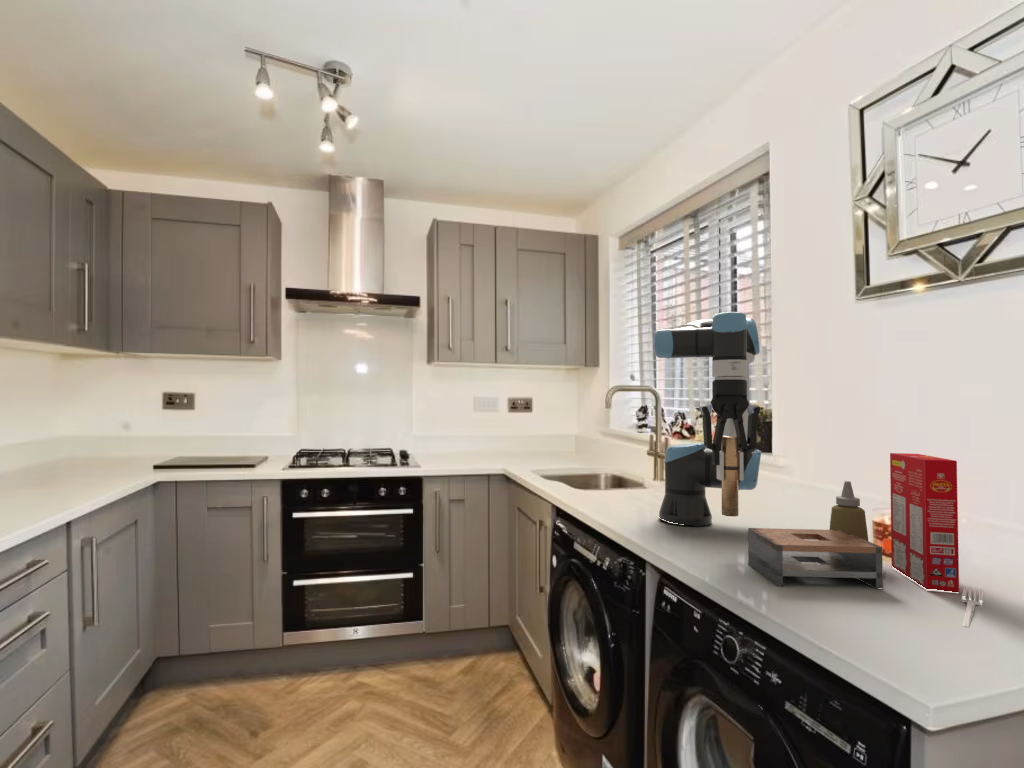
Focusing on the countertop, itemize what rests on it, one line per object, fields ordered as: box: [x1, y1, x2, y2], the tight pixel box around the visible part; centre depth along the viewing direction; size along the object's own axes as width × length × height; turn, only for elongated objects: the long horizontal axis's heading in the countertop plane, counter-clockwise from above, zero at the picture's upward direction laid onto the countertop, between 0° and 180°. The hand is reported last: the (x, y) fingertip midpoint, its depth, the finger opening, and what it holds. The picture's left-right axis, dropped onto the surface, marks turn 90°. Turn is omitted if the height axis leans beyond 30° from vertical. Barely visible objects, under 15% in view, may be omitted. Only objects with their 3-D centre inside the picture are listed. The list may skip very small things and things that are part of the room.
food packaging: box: [889, 452, 960, 593], centre depth 109 cm, size 15×5×25 cm, turn 167°
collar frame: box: [747, 527, 884, 589], centre depth 111 cm, size 14×20×8 cm
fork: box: [961, 585, 984, 628], centre depth 93 cm, size 3×20×2 cm, turn 137°
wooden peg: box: [721, 436, 739, 517], centre depth 125 cm, size 4×4×18 cm
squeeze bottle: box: [828, 480, 870, 542], centre depth 122 cm, size 8×8×18 cm
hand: (729, 479), depth 125 cm, fingers closed on wooden peg, 4 cm apart
